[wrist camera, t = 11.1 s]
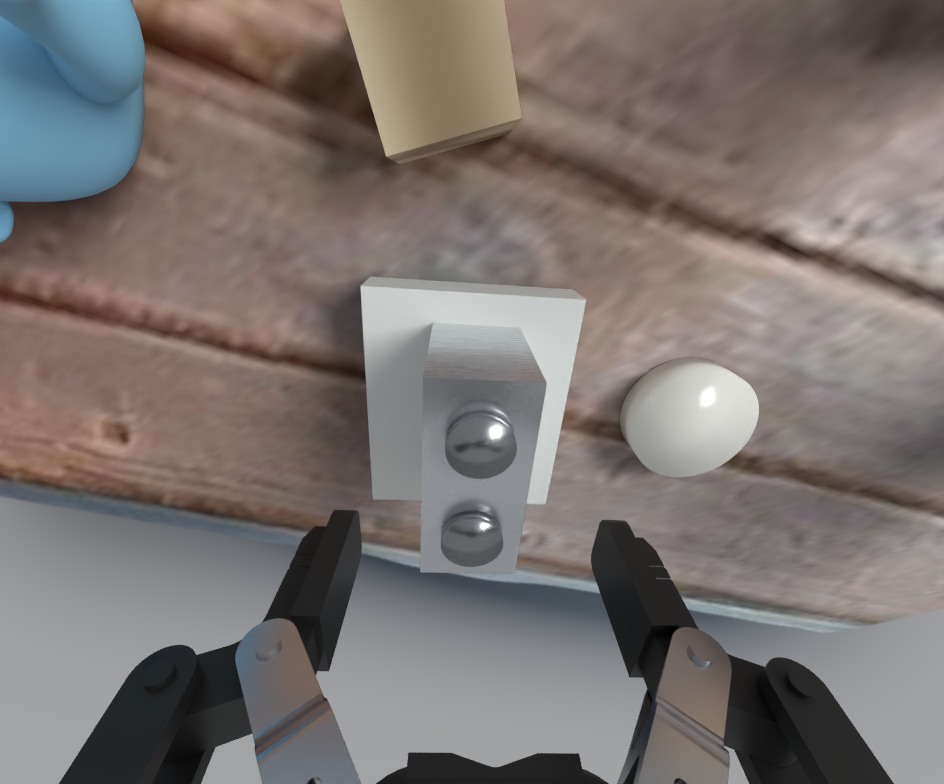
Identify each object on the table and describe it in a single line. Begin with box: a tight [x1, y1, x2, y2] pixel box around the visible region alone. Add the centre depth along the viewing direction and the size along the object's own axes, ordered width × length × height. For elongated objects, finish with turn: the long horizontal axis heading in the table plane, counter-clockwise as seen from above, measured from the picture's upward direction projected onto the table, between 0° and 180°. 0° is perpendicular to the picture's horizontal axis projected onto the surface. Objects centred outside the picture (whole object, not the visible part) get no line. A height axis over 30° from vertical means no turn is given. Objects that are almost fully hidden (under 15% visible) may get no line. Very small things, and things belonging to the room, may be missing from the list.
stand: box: [361, 277, 586, 504], centre depth 21 cm, size 10×12×3 cm
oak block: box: [340, 0, 522, 164], centre depth 15 cm, size 5×5×4 cm
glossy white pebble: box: [620, 357, 759, 477], centre depth 23 cm, size 7×7×2 cm
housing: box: [420, 323, 547, 574], centre depth 17 cm, size 4×9×7 cm, turn 176°
